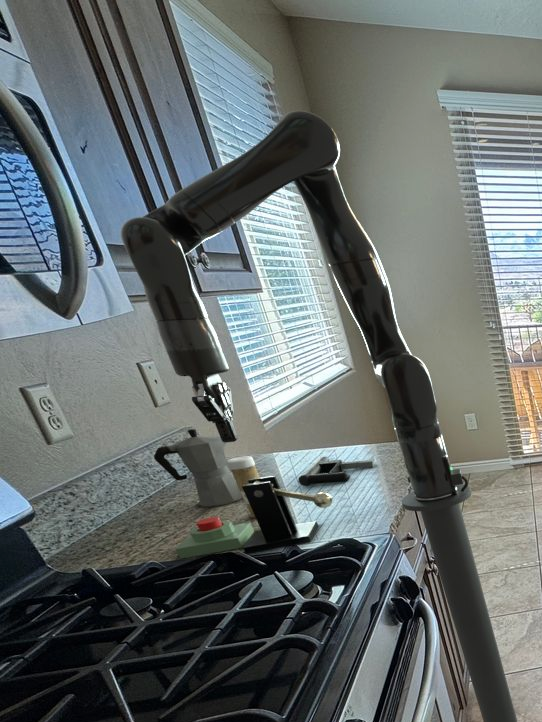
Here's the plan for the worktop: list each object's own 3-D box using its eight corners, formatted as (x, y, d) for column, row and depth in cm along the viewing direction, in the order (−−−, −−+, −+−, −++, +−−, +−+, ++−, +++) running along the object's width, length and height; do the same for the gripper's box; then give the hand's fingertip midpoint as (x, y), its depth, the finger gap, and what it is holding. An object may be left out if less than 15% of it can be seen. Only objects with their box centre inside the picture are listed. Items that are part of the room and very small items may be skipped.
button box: (254, 531, 121) (246, 514, 119) (242, 547, 113) (233, 529, 112) (196, 541, 117) (188, 524, 116) (180, 559, 110) (170, 540, 108)
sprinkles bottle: (256, 519, 127) (231, 462, 122) (247, 516, 129) (222, 460, 124) (278, 512, 131) (255, 456, 125) (269, 509, 133) (245, 454, 127)
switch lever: (332, 506, 119) (334, 492, 118) (329, 511, 116) (332, 497, 116) (254, 492, 113) (257, 477, 112) (250, 497, 110) (252, 482, 109)
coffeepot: (240, 489, 148) (210, 421, 140) (263, 492, 144) (233, 423, 137) (170, 511, 135) (133, 437, 127) (193, 515, 132) (157, 440, 124)
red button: (225, 523, 116) (221, 515, 115) (219, 529, 113) (215, 521, 112) (203, 527, 115) (199, 519, 114) (197, 533, 112) (193, 525, 111)
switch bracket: (318, 526, 122) (296, 469, 116) (310, 541, 115) (286, 482, 109) (257, 536, 118) (232, 479, 113) (245, 553, 111) (217, 492, 105)
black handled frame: (376, 452, 166) (312, 456, 161) (361, 471, 149) (290, 477, 144) (378, 462, 167) (316, 467, 162) (365, 483, 150) (294, 489, 145)
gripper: (206, 348, 97) (245, 446, 104) (230, 342, 108) (263, 431, 115) (150, 351, 94) (194, 452, 101) (180, 345, 105) (217, 436, 112)
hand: (230, 441), depth 108 cm, fingers closed
